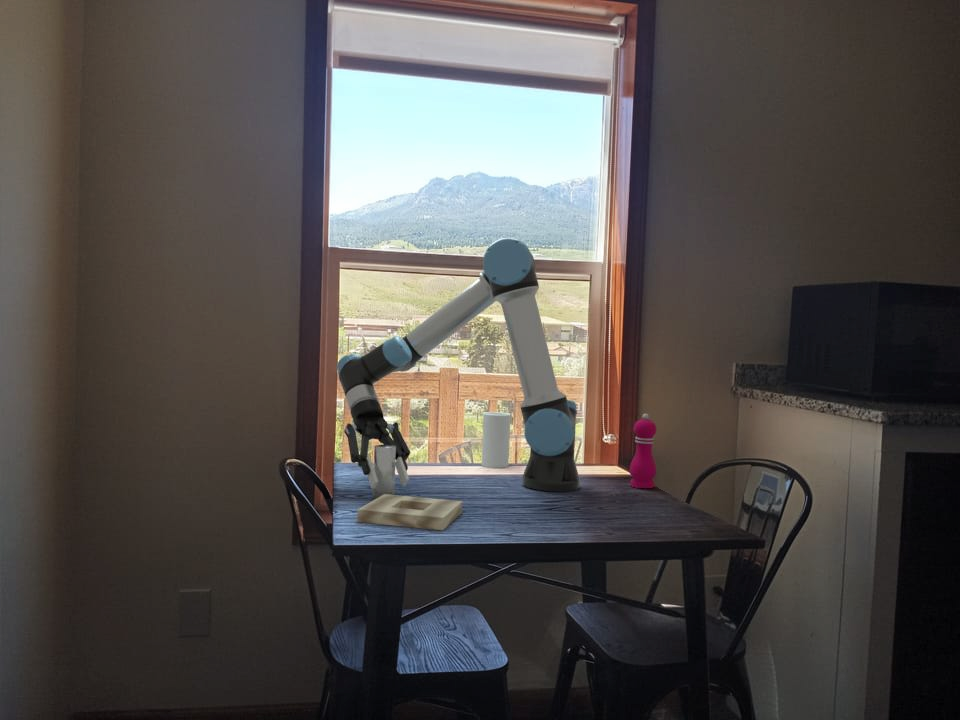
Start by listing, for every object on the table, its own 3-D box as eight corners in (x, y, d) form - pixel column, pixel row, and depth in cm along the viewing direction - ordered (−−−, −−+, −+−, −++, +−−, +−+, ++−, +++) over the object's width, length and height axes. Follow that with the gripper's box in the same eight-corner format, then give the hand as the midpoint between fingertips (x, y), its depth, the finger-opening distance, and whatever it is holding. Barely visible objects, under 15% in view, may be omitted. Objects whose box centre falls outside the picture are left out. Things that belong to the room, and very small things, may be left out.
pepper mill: (647, 484, 203) (651, 412, 202) (660, 489, 196) (664, 415, 195) (624, 484, 201) (627, 412, 200) (636, 489, 194) (639, 414, 193)
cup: (508, 468, 218) (510, 415, 218) (481, 467, 218) (483, 414, 218) (508, 464, 226) (510, 412, 226) (481, 462, 227) (483, 411, 226)
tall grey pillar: (396, 495, 174) (398, 444, 174) (390, 500, 169) (391, 447, 169) (377, 493, 175) (378, 443, 175) (369, 498, 170) (371, 446, 170)
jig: (462, 512, 160) (462, 501, 160) (442, 530, 144) (443, 517, 144) (384, 505, 164) (384, 494, 163) (357, 521, 148) (357, 509, 148)
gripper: (396, 416, 190) (423, 490, 177) (322, 417, 179) (344, 496, 166) (406, 397, 185) (434, 472, 172) (330, 397, 174) (355, 477, 161)
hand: (390, 483), depth 169 cm, fingers open, 7 cm apart
